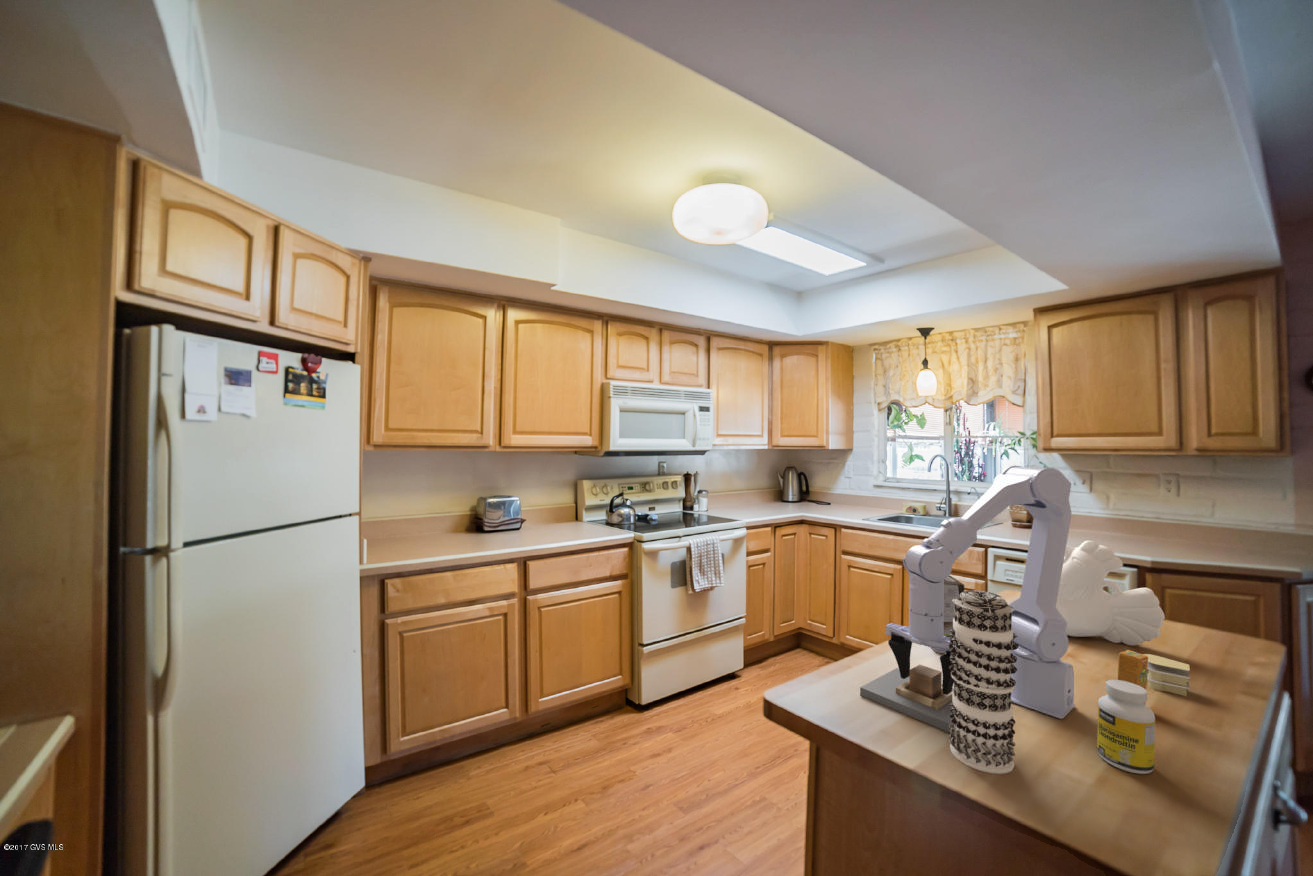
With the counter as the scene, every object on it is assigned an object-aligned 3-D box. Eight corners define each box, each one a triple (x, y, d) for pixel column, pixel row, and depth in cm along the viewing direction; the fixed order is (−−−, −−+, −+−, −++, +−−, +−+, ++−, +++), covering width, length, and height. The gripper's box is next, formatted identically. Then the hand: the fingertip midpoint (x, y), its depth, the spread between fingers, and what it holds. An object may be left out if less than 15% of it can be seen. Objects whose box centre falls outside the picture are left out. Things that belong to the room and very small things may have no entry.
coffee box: (965, 655, 119) (965, 584, 119) (934, 653, 120) (934, 583, 120) (950, 640, 128) (951, 574, 128) (922, 638, 129) (923, 573, 129)
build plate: (994, 711, 94) (994, 697, 94) (961, 738, 85) (961, 722, 85) (896, 675, 108) (896, 663, 108) (860, 695, 100) (860, 682, 100)
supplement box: (1139, 714, 94) (1140, 658, 94) (1116, 705, 97) (1116, 651, 97) (1148, 710, 95) (1148, 655, 95) (1124, 701, 98) (1124, 648, 98)
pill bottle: (1086, 750, 82) (1086, 677, 82) (1123, 749, 83) (1124, 676, 83) (1126, 777, 76) (1127, 697, 76) (1167, 775, 76) (1167, 696, 76)
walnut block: (941, 704, 96) (941, 671, 97) (931, 711, 94) (931, 677, 94) (919, 695, 100) (919, 664, 100) (909, 702, 97) (909, 670, 97)
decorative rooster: (1004, 599, 139) (1065, 538, 125) (1032, 581, 147) (1093, 521, 132) (1100, 683, 124) (1183, 624, 109) (1126, 657, 132) (1207, 599, 117)
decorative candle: (1028, 762, 79) (1030, 597, 79) (999, 783, 74) (1000, 607, 74) (966, 733, 87) (967, 583, 87) (935, 751, 82) (937, 591, 82)
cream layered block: (1199, 690, 104) (1199, 662, 104) (1201, 706, 97) (1201, 676, 97) (1131, 674, 111) (1132, 648, 111) (1129, 688, 104) (1129, 660, 104)
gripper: (877, 605, 100) (877, 676, 100) (958, 627, 89) (958, 707, 89) (896, 598, 104) (895, 666, 104) (975, 618, 93) (975, 695, 93)
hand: (925, 684), depth 97 cm, fingers open, 7 cm apart
